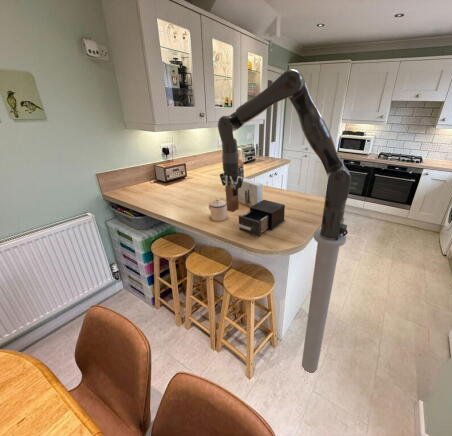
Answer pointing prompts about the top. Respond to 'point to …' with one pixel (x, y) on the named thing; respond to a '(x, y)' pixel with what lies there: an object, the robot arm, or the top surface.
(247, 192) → the skincare box
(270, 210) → the dark brown cabinet
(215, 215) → the teacup with lid
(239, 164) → the whiskey bottle
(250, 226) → the drawer
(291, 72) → the robot arm
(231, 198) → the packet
